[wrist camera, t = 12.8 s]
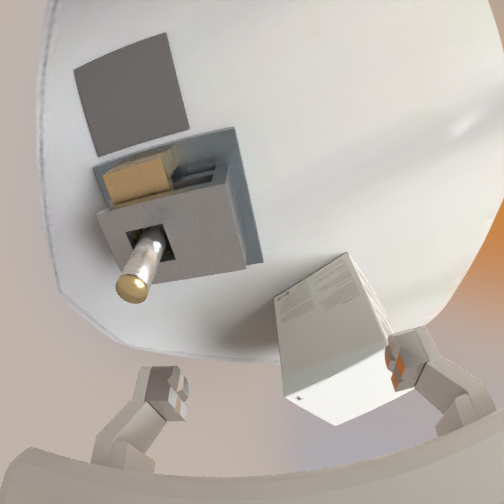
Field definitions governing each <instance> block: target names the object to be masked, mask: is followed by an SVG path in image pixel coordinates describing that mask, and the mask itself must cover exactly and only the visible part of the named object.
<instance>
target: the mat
mask: <svg viewBox="0 0 504 504" xmlns="http://www.w3.org/2000/svg"><path fill="white" fill-rule="evenodd" d="M74 72H75V76H76V80H77V84H78V88H79V92H80V96H81V99H82V103H83V107H84V110H85V114H86V117H87V121H88V124H89V127H90V131H91V134H92V137H93V140H94V143H95V146H96V149H97V152H98V155H99V157H100V156H103V155H105V154H108V153H111V152H114V151H117V150H120V149H123V148H126V147H129V146H132V145H135V144H138V143H141V142H145V141H148V140H151V139H155V138H158V137H161V136H165V135H168V134H172V133H176V132H179V131H183V130H187V129H190V128H189V124H188V120H187V116H186V112H185V108H184V104H183V100H182V96H181V92H180V88H179V84H178V80H177V76H176V72H175V68H174V64H173V59H172V55H171V51H170V47H169V42H168V38H167V34H166V32H165V33H162V34H159V35H156V36H153V37H150V38H147V39H144V40H142V41H139V42H136V43H133V44H131V45H128V46H126V47H123V48H121V49H118V50H116V51H113V52H111V53H109V54H106V55H104V56H102V57H100V58H98V59H95V60H93V61H91V62H89V63H87V64H85V65H83V66H81V67H79V68H77V69H75V70H74Z"/></svg>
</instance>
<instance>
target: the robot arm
mask: <svg viewBox="0 0 504 504" xmlns="http://www.w3.org/2000/svg"><path fill="white" fill-rule="evenodd" d="M387 341H388V345H387V346H386V348H385V362H386V366H387V369H388V370H389V371H391V372H392V376H391V381H392V384H393V387H394V390H395V392H398V391H402V390H406V389H410V388H413V387H415V389H416V390H417V391H418V392H419V393H420V394H421V395H423V396H424V397H425V398H426V399H427V400H428V401H429V402H430V403H431V404H433V405H434V406H435V407H436V408H437V409H438V410H439V411H440V412H441V413H443V415H442V417H441V418H440V419H439V420H438V422H437V423H436V425H435V428H436V432H437V435H438V437H437V438H434V439H432V440H429V441H426V442H423V443H421V444H418V445H415V446H412V447H409V448H406V449H402V450H399V451H396V452H393V453H389V454H386V455H382V456H378V457H375V458H371V459H367V460H362V461H358V462H354V463H349V464H344V465H340V466H334V467H329V468H323V469H317V470H311V471H303V472H296V473H287V474H278V475H265V476H249V477H189V476H173V475H162V474H154V467H155V462H154V461H153V460H152V459H150V458H149V457H148V456H146V455H145V453H146V451H147V450H148V448H149V447H150V446H151V444H152V443H153V441H154V440H155V439H156V437H157V436H158V434H159V433H160V431H161V430H162V428H163V427H164V426H165V424H166V423H167V422H166V421H185V420H186V412H187V406H186V404H185V403H184V402H185V400H186V399H187V398H188V393H189V390H188V383H187V380H186V378H185V377H184V376H183V375H181V374H180V369H179V368H178V366H160V367H154V366H152V367H141V369H140V370H139V373H138V378H137V382H136V386H135V391H134V395H133V399H132V401H129V402H128V403H127V404H126V405H125V406H124V407H123V408H122V409H121V410H120V412H118V413H117V415H116V416H115V417H114V418H113V419H112V420H111V421H110V422H109V423H108V424H107V426H105V427H104V429H103V430H102V431H101V432H100V433H99V434H98V435H97V436H96V440H95V444H94V449H93V454H92V458H91V462H90V463H88V462H83V461H79V460H75V459H71V458H67V457H64V456H60V455H56V454H53V453H50V452H47V451H43V450H41V449H38V448H33V447H30V448H27V449H26V450H24V451H23V452H22V453H21V454H20V455H19V456H18V457H16V458H15V459H14V460H13V461H12V462H11V463H10V465H9V466H8V468H7V471H6V473H5V476H4V479H3V482H2V486H1V490H0V504H504V407H502V408H500V409H499V410H496V408H495V405H494V403H493V400H492V398H491V396H490V394H489V392H488V389H487V387H486V385H485V384H484V383H482V382H481V381H480V380H478V379H477V378H475V377H474V376H472V375H471V374H469V373H468V372H466V371H465V370H463V369H462V368H460V367H459V366H457V365H456V364H454V363H453V362H451V361H450V360H448V359H447V358H445V357H442V358H441V356H440V354H439V352H438V350H437V348H436V346H435V343H434V341H433V340H432V337H431V335H430V334H429V331H428V329H427V328H426V327H425V326H420V327H417V328H414V329H409V330H405V331H401V332H397V333H394V334H390V335H389V336H388V339H387Z"/></svg>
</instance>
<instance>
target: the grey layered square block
mask: <svg viewBox="0 0 504 504" xmlns="http://www.w3.org/2000/svg"><path fill="white" fill-rule="evenodd" d="M93 169H94V172H95V175H96V177H97V180H98V183H99V185H100V188H101V191H102V193H103V196H104V199H105V201H106V204H107V206H108V207H107V208H104V209H101V210H100V211H99V212H98V213H97V214H96V215H95V216H96V218H97V221H98V223H99V225H100V228H101V230H102V232H103V234H104V237H105V239H106V241H107V243H108V245H109V247H110V250H111V252H112V254H113V256H114V258H115V260H116V262H117V264H118V266H119V268H120V270H121V273H122V271H123V269H124V267H125V265H126V263H127V261H128V259H129V258H130V256H131V254H132V252H133V250H134V248H135V246H136V244H137V243H138V241H139V239H140V237H141V235H142V233H143V232H144V230H145V228H146V227H150V226H154V225H159V224H163V226H164V229H165V231H166V234H167V237H168V242H167V244H166V247H165V249H164V252H163V255H162V257H161V260H160V262H159V265H158V268H157V270H156V273H155V275H154V278H153V281H152V284H157V283H164V282H170V281H176V280H183V279H189V278H195V277H201V276H207V275H214V274H220V273H226V272H232V271H238V270H244V269H247V265H251V264H257V263H263V256H262V251H261V246H260V241H259V237H258V232H257V227H256V223H255V218H254V213H253V209H252V204H251V199H250V195H249V190H248V185H247V181H246V176H245V172H244V167H243V162H242V158H241V153H240V149H239V144H238V140H237V135H236V131H235V127H231V128H226V129H222V130H217V131H213V132H208V133H204V134H200V135H196V136H192V137H188V138H184V139H180V140H176V141H172V142H169V143H165V144H162V145H158V146H155V147H151V148H148V149H144V150H141V151H138V152H135V153H132V154H128V155H125V156H122V157H119V158H116V159H113V160H110V161H107V162H104V163H102V164H99V165H96V166H95V167H93Z"/></svg>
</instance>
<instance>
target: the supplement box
mask: <svg viewBox="0 0 504 504" xmlns="http://www.w3.org/2000/svg"><path fill="white" fill-rule="evenodd" d="M274 308H275V316H276V325H277V333H278V343H279V352H280V361H281V369H282V380H283V390H284V397H285V398H286V399H288V400H290V401H291V402H293V403H295V404H296V405H298V406H300V407H302V408H303V409H306V410H307V411H309V412H311V413H312V414H314V415H316V416H318V417H320V418H322V419H323V420H325V421H327V422H329V423H331V424H333V425H335V426H336V425H338V424H341V423H343V422H346V421H348V420H351V419H353V418H355V417H357V416H359V415H362V414H364V413H366V412H369V411H371V410H373V409H375V408H377V407H379V406H381V405H383V404H385V403H387V402H390V401H392V400H393V399H396V398H398V397H400V396H401V395H403V394H405V393H407V392H409V391H411V390H413V389H415V387H413V388H410V389H406V390H402V391H398V392H395V390H394V387H393V384H392V381H391V376H392V372H391V371H389V370H388V369H387V366H386V362H385V348H386V346H387V345H388V341H387V339H388V336H389V335H390V334H394V333H395V331H394V329H393V327H392V325H391V322H390V320H389V318H388V316H387V314H386V312H385V309H384V307H383V305H382V303H381V301H380V299H379V298H378V296H377V295H376V293H375V291H374V290H373V288H372V287H371V285H370V284H369V282H368V281H367V279H366V278H365V276H364V275H363V273H362V272H361V270H360V269H359V267H358V266H357V264H356V263H355V261H354V260H353V259H352V257H351V256H350V254H349V253H345V254H343V255H342V256H340V257H338V258H337V259H335V260H334V261H332V262H331V263H329V264H328V265H326V266H325V267H323V268H321V269H320V270H318V271H317V272H315V273H313V274H312V275H310V276H309V277H307V278H305V279H304V280H302V281H301V282H299V283H297V284H296V285H294V286H292V287H291V288H289V289H288V290H286V291H284V292H283V293H281V294H279V295H278V296H276V297H275V298H274Z"/></svg>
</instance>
